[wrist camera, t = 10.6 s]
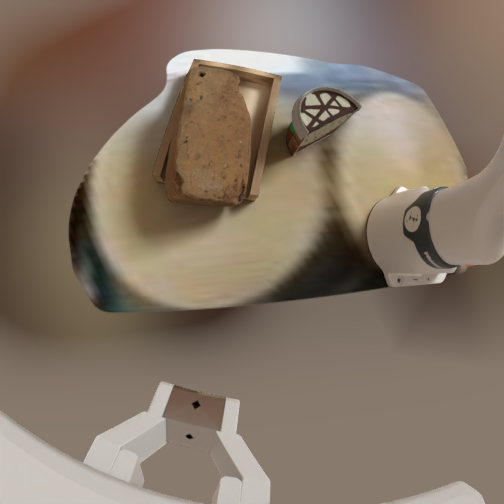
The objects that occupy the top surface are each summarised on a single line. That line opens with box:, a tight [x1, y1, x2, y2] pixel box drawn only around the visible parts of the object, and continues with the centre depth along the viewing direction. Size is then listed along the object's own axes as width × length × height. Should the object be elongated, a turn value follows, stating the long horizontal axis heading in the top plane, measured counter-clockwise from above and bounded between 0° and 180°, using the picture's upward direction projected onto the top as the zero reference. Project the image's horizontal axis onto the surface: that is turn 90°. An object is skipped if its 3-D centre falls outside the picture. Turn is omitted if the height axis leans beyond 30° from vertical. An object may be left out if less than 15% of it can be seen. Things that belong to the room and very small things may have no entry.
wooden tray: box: [152, 59, 282, 201], centre depth 40 cm, size 15×22×4 cm
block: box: [166, 66, 251, 206], centre depth 36 cm, size 11×8×20 cm
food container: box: [286, 87, 362, 156], centre depth 39 cm, size 12×6×10 cm, turn 124°
